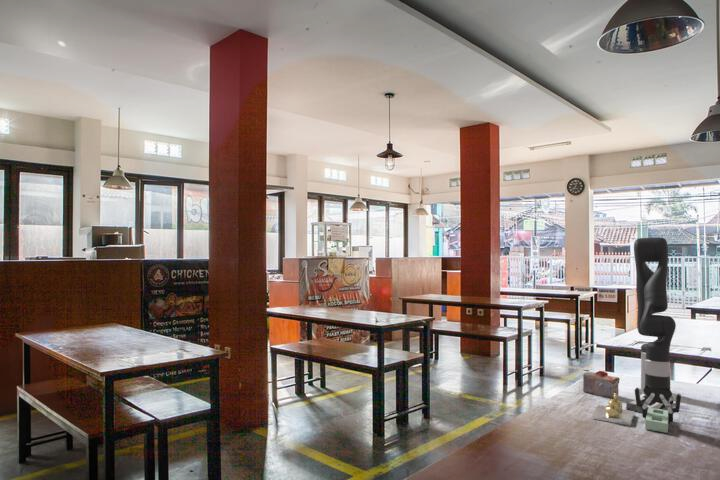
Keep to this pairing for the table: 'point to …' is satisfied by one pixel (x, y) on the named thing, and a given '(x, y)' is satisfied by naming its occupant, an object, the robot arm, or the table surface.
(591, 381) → the food item
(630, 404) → the graphics card
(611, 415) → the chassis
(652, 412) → the board
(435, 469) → the table surface
